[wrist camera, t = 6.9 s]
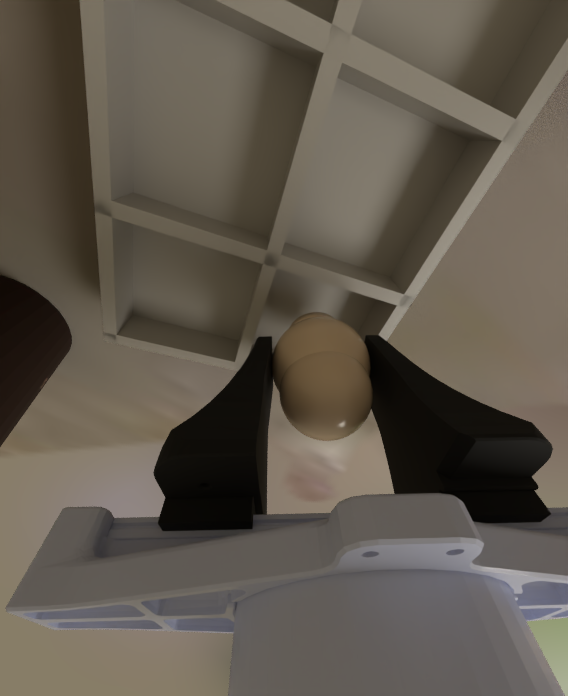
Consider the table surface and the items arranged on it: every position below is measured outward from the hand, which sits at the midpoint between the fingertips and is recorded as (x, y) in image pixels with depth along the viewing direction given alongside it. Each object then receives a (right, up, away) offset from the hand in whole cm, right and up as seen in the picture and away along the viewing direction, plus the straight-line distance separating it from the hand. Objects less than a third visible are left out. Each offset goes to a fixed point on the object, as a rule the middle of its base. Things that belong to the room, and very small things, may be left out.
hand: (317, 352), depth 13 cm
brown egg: (0, +1, +1) cm, 1 cm away
